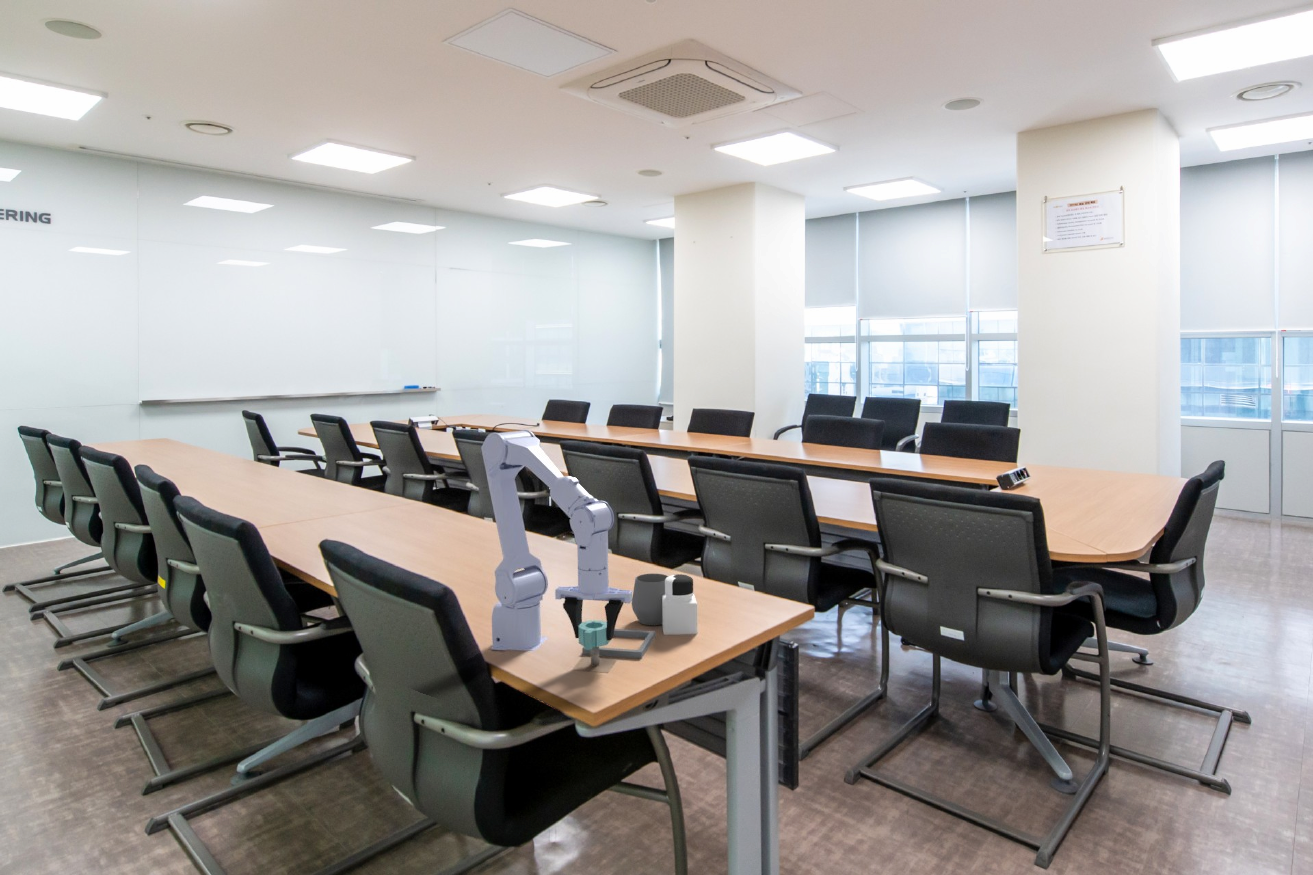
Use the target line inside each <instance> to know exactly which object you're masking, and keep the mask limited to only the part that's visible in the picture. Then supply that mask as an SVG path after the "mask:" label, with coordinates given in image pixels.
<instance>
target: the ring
mask: <svg viewBox="0 0 1313 875" xmlns="http://www.w3.org/2000/svg"><path fill="white" fill-rule="evenodd" d="M578 632H579V638H578V644H580V645H581V646H582V647H584V646H585V650H591V649H592V648H593V647H604V646H607V645H608V644H609V643H610V642H611V640H607V621H605V620H598V619H597V620H595V619H591V620H586V621H582V623H581V624H580V625H579V626H578Z"/></svg>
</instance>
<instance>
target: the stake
mask: <svg viewBox="0 0 1313 875" xmlns="http://www.w3.org/2000/svg"><path fill="white" fill-rule="evenodd" d="M617 661H618V658H616V657H614V658H613V657H602V656H601V657H600V656H599V647H593V648H592V649H591V655H590V656H589V655H586V656H585V655H583V656H582V657H581V658H580V659H579V660H578V662H577V663H576V664H575V665H574V667H572V669H571V671H577V672H586V673H587V672H588V673H590V672H591V673H601V674H602V673H604V674H608V673H609V672H610V671H611V669H612V668H613V667H614V666H615V664H616V663H617Z"/></svg>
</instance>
